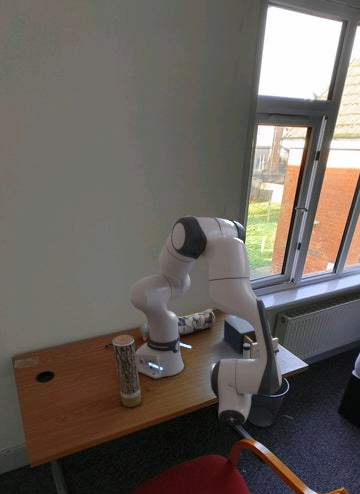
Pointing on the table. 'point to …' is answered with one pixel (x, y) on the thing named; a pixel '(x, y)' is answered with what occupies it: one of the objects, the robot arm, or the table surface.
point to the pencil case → (195, 322)
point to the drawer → (252, 341)
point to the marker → (246, 351)
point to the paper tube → (127, 370)
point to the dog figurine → (144, 329)
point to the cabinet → (236, 332)
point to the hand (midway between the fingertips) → (243, 362)
